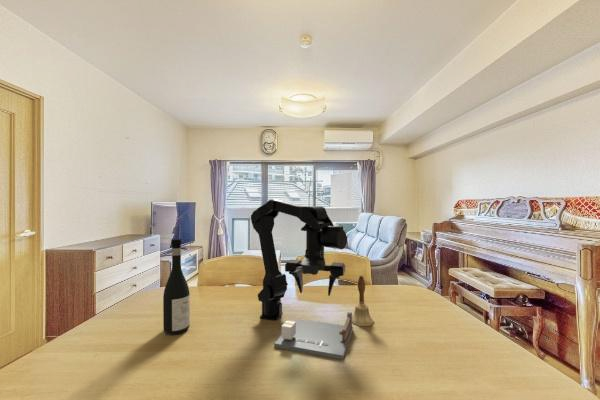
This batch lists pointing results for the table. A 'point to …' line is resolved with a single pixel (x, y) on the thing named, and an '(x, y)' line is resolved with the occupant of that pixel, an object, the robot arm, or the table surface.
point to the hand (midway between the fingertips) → (315, 294)
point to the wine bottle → (176, 296)
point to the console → (317, 339)
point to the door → (346, 329)
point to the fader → (288, 330)
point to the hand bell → (361, 308)
